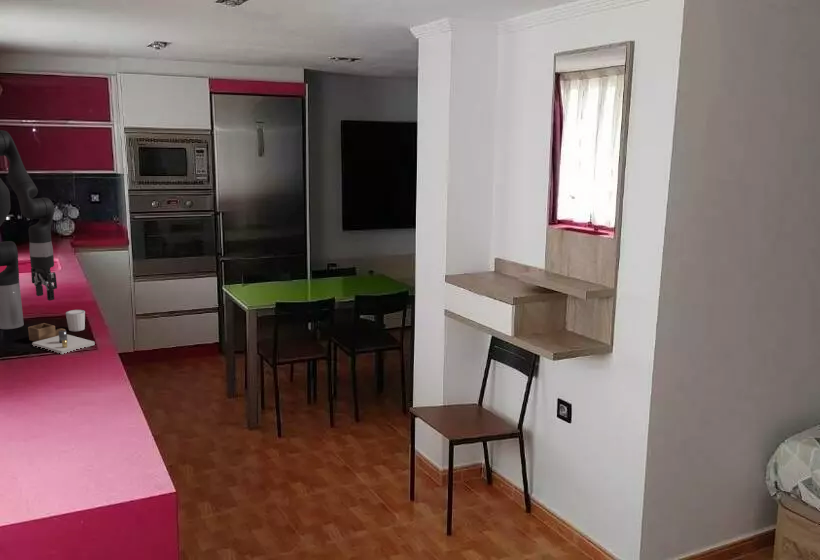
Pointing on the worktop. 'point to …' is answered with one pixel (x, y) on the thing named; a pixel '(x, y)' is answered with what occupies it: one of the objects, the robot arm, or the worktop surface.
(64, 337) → the post
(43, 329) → the open wooden box
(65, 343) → the dowel
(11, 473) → the worktop surface
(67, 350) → the board
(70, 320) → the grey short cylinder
